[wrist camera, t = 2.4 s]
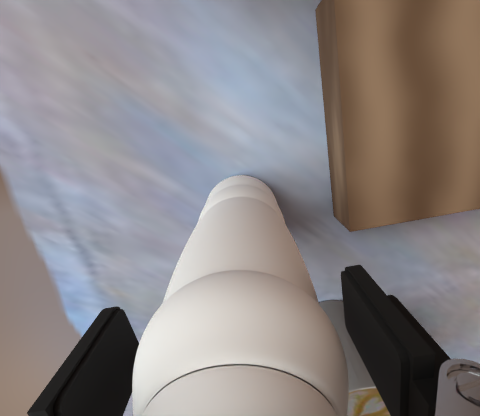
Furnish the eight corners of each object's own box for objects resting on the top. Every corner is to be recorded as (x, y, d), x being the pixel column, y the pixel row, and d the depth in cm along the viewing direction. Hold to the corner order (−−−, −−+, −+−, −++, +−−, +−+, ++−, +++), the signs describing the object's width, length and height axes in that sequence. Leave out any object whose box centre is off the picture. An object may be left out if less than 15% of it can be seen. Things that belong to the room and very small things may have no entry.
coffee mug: (365, 291, 28) (428, 376, 19) (373, 354, 31) (430, 454, 22) (253, 315, 29) (258, 405, 20) (271, 373, 32) (283, 476, 23)
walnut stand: (471, -29, 19) (530, -68, 15) (455, 193, 24) (494, 205, 21) (315, 10, 20) (333, -18, 16) (333, 215, 25) (349, 231, 21)
